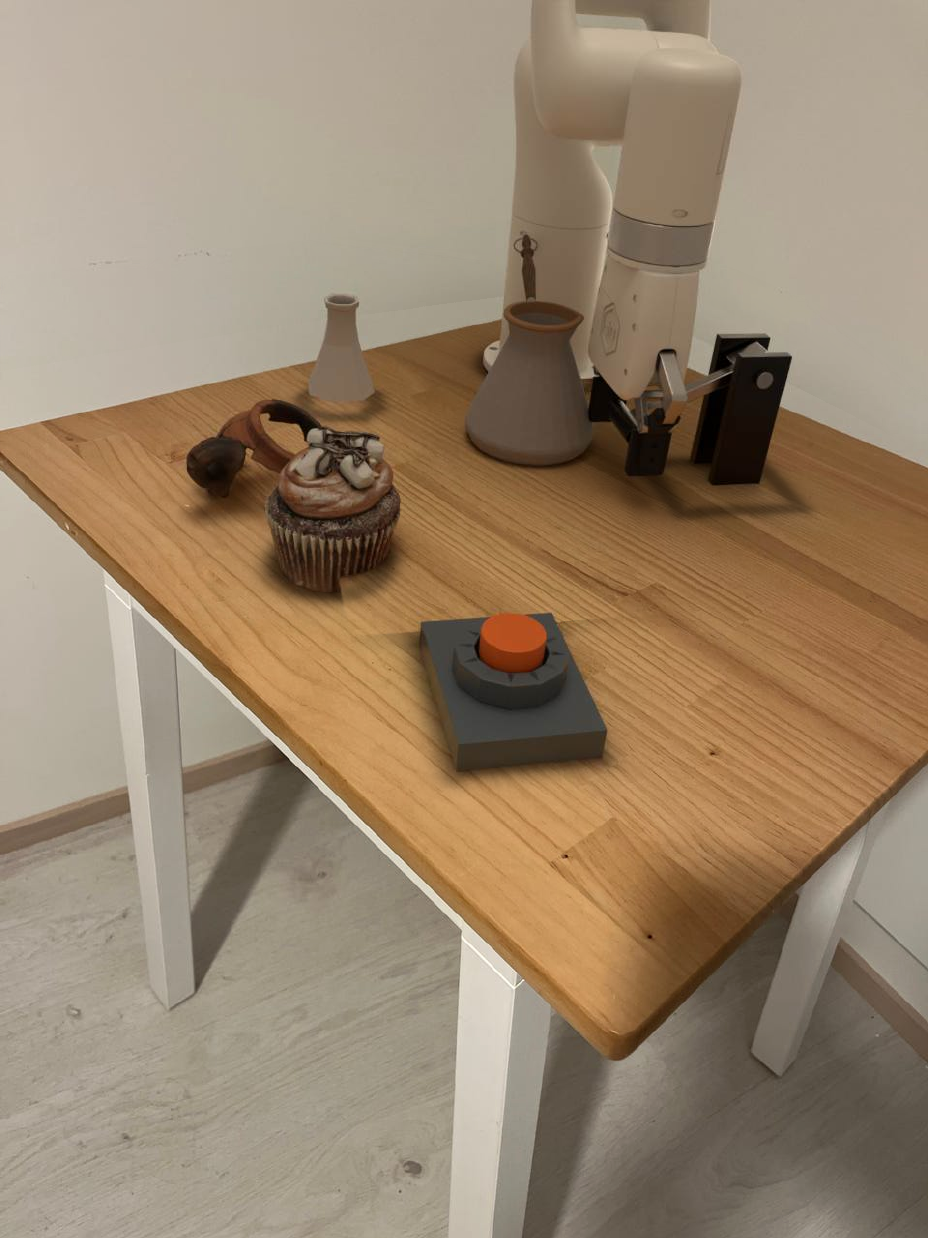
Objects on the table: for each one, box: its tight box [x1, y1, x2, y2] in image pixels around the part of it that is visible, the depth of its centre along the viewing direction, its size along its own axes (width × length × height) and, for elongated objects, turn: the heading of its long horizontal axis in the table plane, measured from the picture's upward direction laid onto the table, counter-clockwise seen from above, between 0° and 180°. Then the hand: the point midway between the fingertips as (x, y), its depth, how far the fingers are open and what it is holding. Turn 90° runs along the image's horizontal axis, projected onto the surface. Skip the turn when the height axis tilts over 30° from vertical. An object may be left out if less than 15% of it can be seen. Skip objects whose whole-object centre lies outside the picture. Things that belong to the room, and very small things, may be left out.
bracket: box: [690, 332, 793, 486], centre depth 90 cm, size 11×9×13 cm
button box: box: [418, 612, 608, 772], centre depth 67 cm, size 12×9×4 cm
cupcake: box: [263, 425, 402, 593], centre depth 77 cm, size 10×10×10 cm
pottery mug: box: [185, 398, 323, 500], centre depth 85 cm, size 12×10×8 cm
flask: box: [307, 293, 376, 403], centre depth 99 cm, size 7×7×10 cm
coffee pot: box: [464, 234, 595, 467], centre depth 96 cm, size 21×12×15 cm, turn 3°
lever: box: [605, 342, 769, 445], centre depth 88 cm, size 13×6×2 cm, turn 102°
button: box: [479, 612, 547, 674], centre depth 65 cm, size 4×4×2 cm
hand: (623, 446), depth 90 cm, fingers open, 9 cm apart
